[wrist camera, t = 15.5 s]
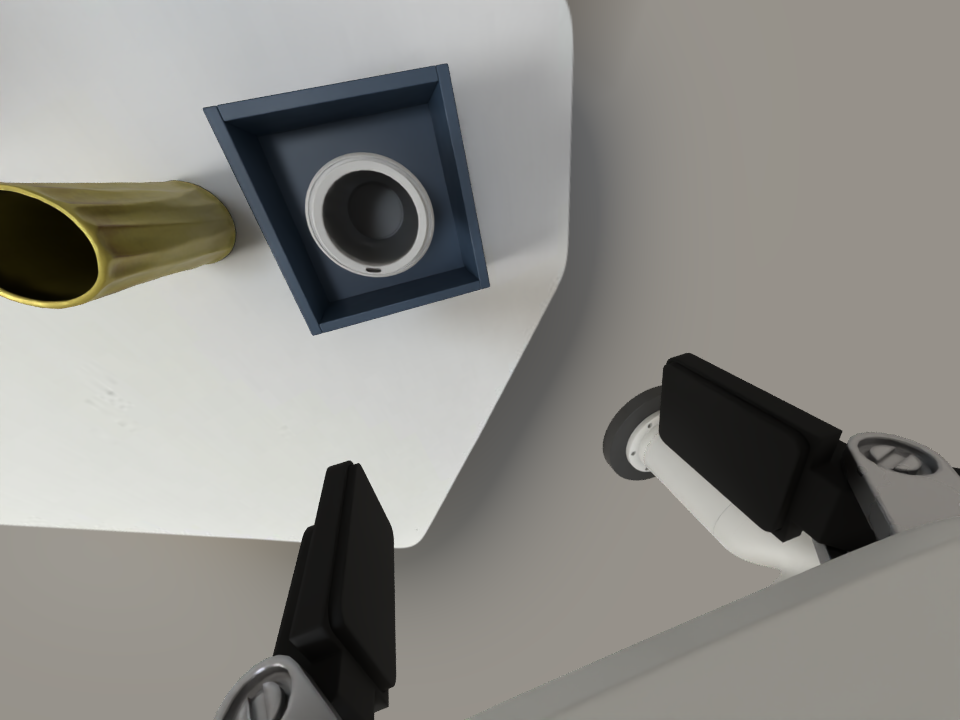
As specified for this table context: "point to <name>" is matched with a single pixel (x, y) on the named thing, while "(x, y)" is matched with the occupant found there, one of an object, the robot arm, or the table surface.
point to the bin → (350, 129)
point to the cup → (369, 214)
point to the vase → (104, 237)
